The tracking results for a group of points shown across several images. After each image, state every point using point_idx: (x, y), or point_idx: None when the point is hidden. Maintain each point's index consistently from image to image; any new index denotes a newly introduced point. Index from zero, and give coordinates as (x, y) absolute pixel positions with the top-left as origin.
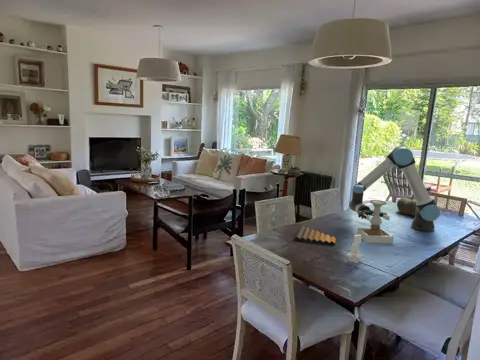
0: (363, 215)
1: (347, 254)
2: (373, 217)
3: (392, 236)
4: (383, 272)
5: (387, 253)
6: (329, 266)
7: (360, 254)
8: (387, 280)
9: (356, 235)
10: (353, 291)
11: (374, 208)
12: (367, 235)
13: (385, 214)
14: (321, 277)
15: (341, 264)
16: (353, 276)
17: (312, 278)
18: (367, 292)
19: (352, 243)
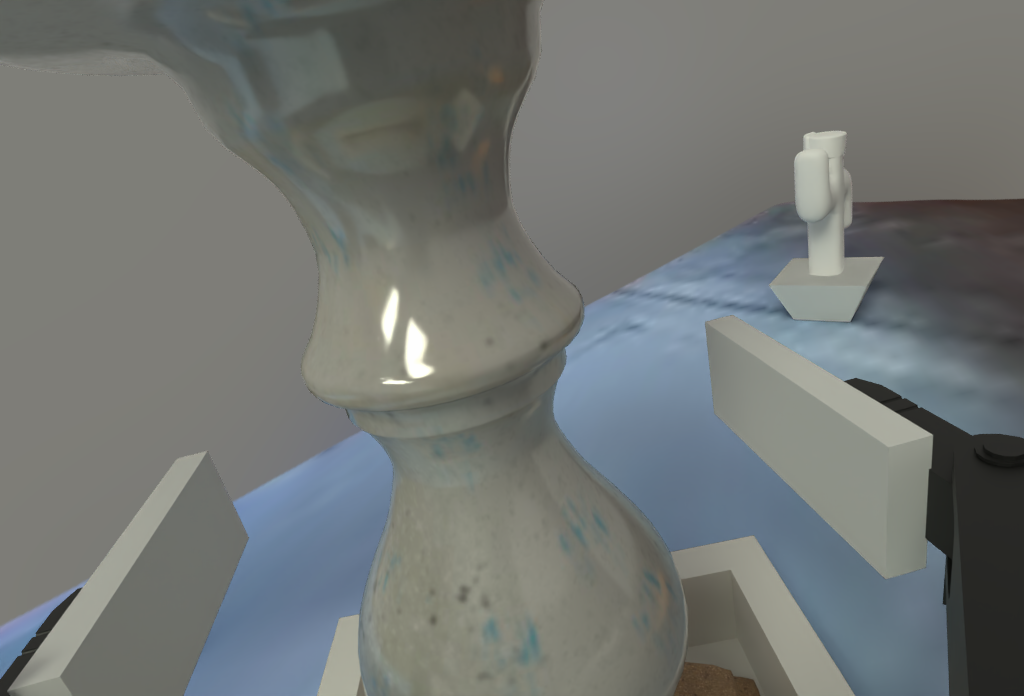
0: (921, 416)
1: (878, 262)
2: (589, 465)
3: (357, 615)
4: (669, 292)
5: (576, 439)
6: (952, 252)
7: (793, 281)
8: (665, 268)
9: (827, 132)
10: (790, 215)
11: (515, 212)
12: (751, 558)
13: (71, 605)
14: (938, 213)
15: (895, 276)
16: (805, 247)
17: (971, 203)
18: (744, 224)
19: (845, 169)
